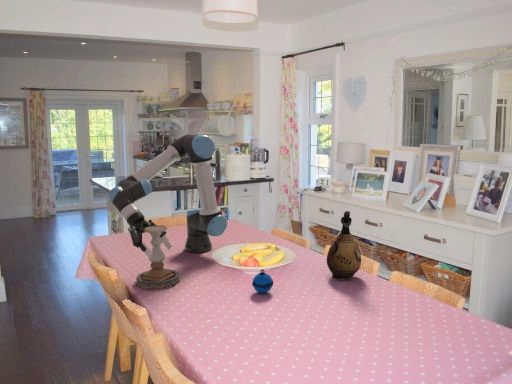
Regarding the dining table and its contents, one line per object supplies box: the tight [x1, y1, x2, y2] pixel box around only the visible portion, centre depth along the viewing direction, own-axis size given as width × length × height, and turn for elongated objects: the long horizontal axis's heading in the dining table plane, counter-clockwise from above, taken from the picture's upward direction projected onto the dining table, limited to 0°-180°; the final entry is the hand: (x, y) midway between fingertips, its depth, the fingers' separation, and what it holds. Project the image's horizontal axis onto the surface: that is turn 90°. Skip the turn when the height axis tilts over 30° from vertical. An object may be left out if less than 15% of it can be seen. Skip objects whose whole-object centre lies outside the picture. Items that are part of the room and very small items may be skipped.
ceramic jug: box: [326, 210, 362, 281], centre depth 211 cm, size 17×15×30 cm
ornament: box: [251, 269, 274, 294], centre depth 195 cm, size 9×9×10 cm
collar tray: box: [136, 268, 181, 290], centre depth 210 cm, size 19×19×3 cm
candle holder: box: [141, 225, 175, 282], centre depth 208 cm, size 11×11×24 cm
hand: (161, 252), depth 207 cm, fingers open, 13 cm apart
